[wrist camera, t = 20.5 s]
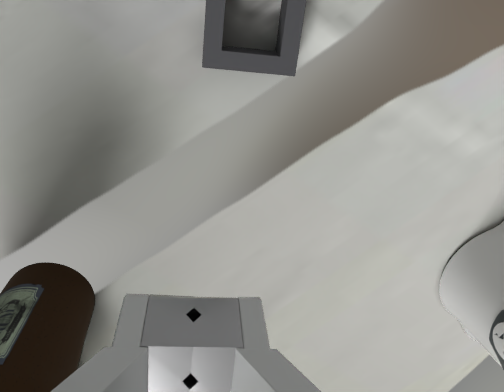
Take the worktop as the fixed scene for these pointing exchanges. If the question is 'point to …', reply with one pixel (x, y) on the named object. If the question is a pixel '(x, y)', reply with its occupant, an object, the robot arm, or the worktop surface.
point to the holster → (254, 59)
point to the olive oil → (42, 326)
